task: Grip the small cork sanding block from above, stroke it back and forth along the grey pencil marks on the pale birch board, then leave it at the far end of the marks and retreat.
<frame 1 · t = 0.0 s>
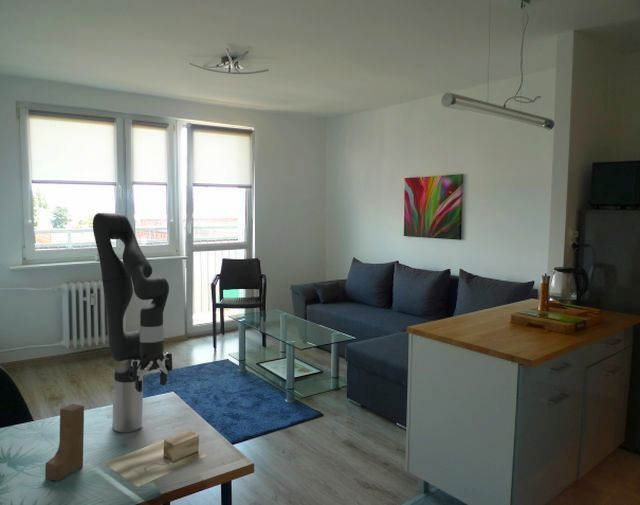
hand: (151, 388, 153), 17 cm above the table, tool pointing down, fingers open, 8 cm apart
board: (156, 463, 139), on the table
sanding block: (181, 454, 143), point 1 cm above the table, touching board
wooden block: (64, 473, 132), on the table
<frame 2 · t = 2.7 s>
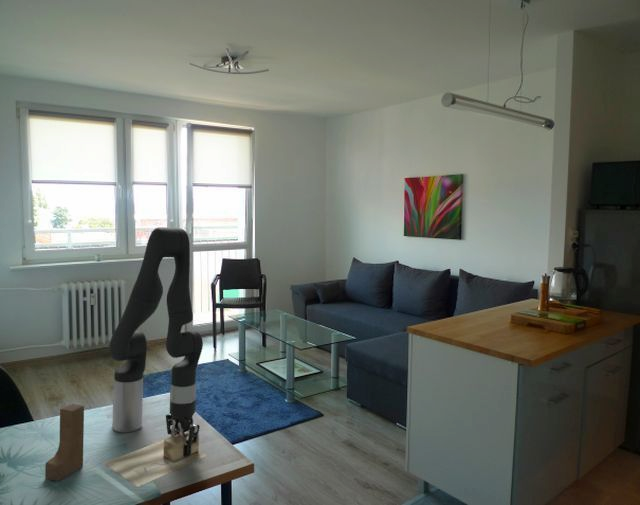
hand: (181, 452, 142), 2 cm above the table, tool pointing down, fingers closed on sanding block, 5 cm apart
sanding block: (181, 454, 143), point 1 cm above the table, touching board, gripper
everything else where it was.
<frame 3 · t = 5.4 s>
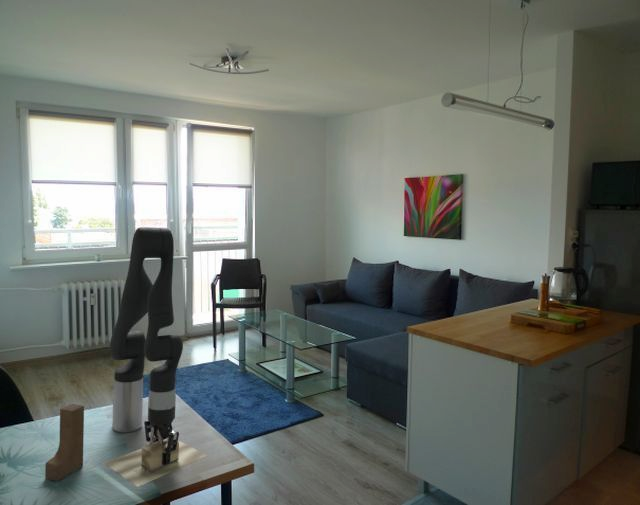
hand: (160, 460, 137), 2 cm above the table, tool pointing down, fingers closed on sanding block, 5 cm apart
sanding block: (160, 463, 137), point 1 cm above the table, touching gripper
everything else where it was.
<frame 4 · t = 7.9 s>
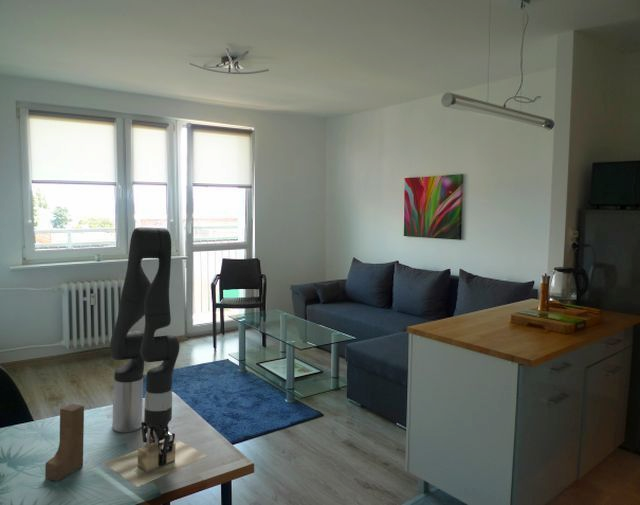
hand: (156, 461, 136), 2 cm above the table, tool pointing down, fingers closed on sanding block, 5 cm apart
sanding block: (156, 464, 136), point 1 cm above the table, touching gripper
everything else where it was.
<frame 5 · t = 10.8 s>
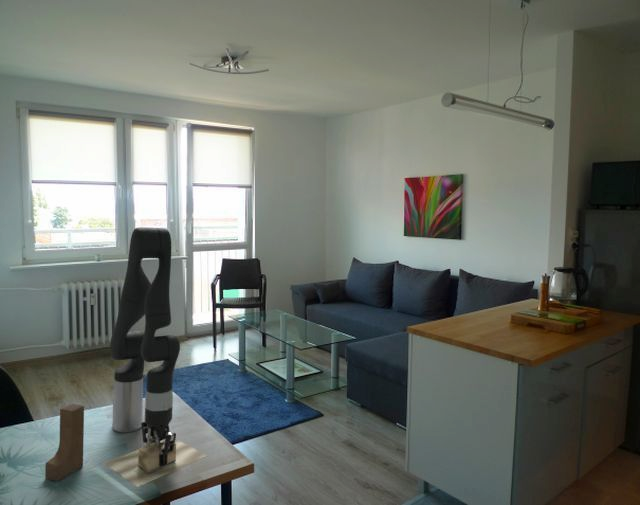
hand: (157, 461, 136), 2 cm above the table, tool pointing down, fingers closed on sanding block, 5 cm apart
sanding block: (157, 464, 136), point 1 cm above the table, touching gripper
everything else where it was.
when the fingers open (2 cm above the table, at t = 13.0 s): sanding block stays where it is, resting on board.
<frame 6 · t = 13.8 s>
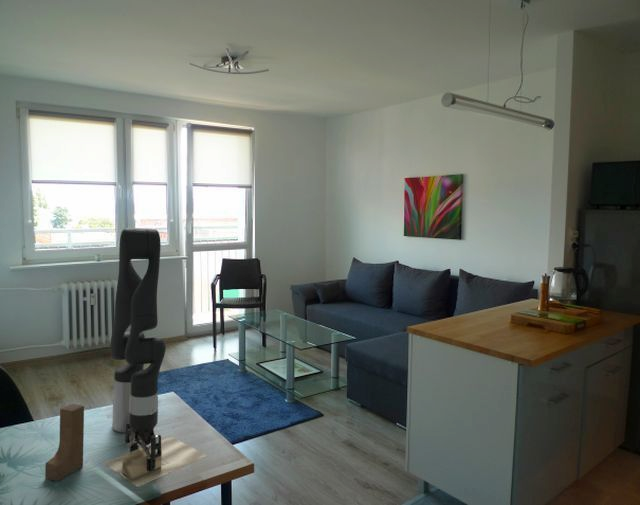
hand: (142, 464, 132), 3 cm above the table, tool pointing down, fingers open, 8 cm apart
sanding block: (142, 471, 132), point 1 cm above the table, touching board
everything else where it was.
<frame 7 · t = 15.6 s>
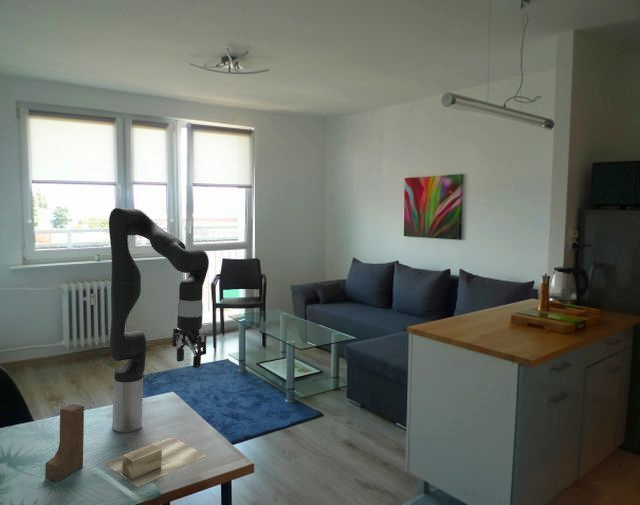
hand: (188, 364, 148), 27 cm above the table, tool pointing down, fingers open, 8 cm apart
nothing on the table moved.
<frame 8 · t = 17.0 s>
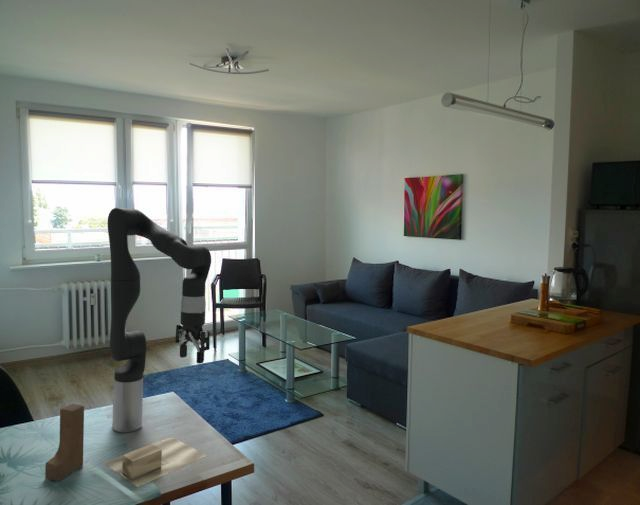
hand: (191, 360, 149), 28 cm above the table, tool pointing down, fingers open, 8 cm apart
nothing on the table moved.
at the end: sanding block inside the target area (0.1 cm from its centre), point 1.2 cm above the table; sanding block tilted 0°; the gripper is holding nothing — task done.
